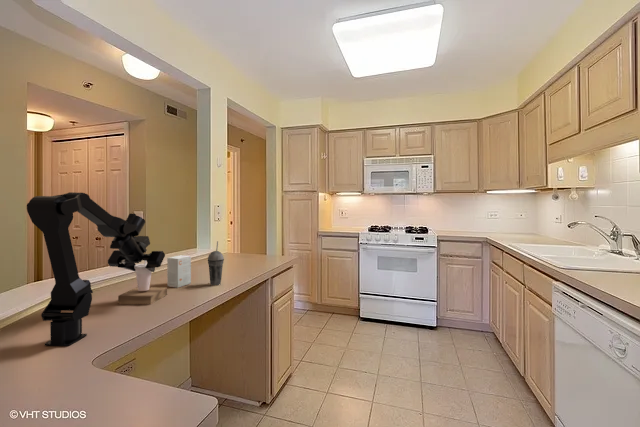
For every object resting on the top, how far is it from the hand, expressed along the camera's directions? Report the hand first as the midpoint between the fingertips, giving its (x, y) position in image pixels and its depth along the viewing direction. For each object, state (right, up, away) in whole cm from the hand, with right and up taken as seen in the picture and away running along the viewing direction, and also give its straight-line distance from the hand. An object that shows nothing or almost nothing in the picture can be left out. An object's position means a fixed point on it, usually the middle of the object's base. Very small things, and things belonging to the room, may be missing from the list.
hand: (145, 270), depth 118 cm
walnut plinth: (0, -11, -1) cm, 11 cm away
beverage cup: (+20, -11, +22) cm, 31 cm away
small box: (+4, -10, +20) cm, 23 cm away
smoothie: (0, -7, -1) cm, 7 cm away
